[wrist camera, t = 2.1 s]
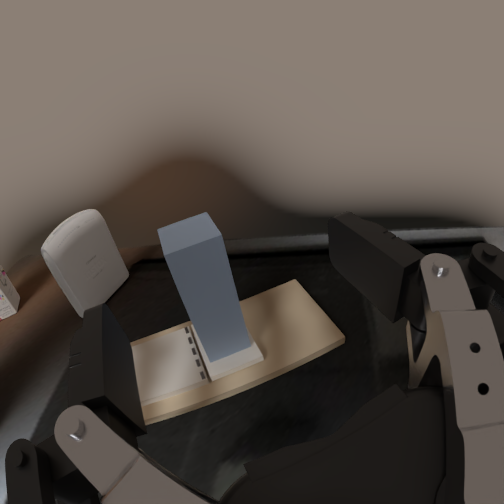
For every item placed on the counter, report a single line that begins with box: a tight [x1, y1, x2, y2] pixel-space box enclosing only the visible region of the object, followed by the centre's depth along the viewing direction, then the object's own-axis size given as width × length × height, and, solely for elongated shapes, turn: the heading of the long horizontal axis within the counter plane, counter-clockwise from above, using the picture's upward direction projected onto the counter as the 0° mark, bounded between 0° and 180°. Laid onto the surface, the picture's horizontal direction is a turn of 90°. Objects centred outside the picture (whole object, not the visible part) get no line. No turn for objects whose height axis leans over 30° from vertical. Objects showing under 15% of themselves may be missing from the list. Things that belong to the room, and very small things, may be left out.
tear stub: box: [158, 212, 264, 381], centre depth 25 cm, size 5×7×13 cm
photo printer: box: [41, 209, 129, 318], centre depth 36 cm, size 10×4×12 cm, turn 155°
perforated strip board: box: [130, 279, 345, 425], centre depth 28 cm, size 26×10×2 cm, turn 112°
